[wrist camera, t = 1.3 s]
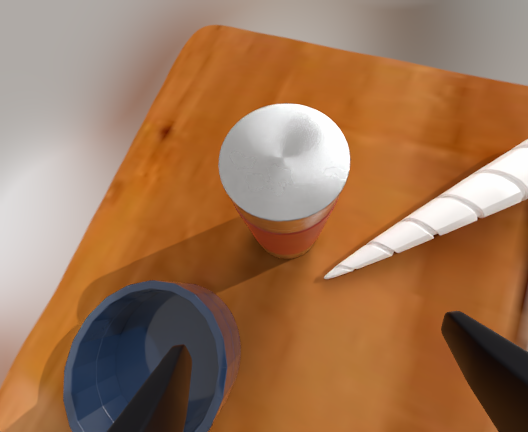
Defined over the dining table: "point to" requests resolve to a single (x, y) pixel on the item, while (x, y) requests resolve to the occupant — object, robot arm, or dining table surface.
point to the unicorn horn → (450, 209)
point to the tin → (284, 174)
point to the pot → (150, 352)
